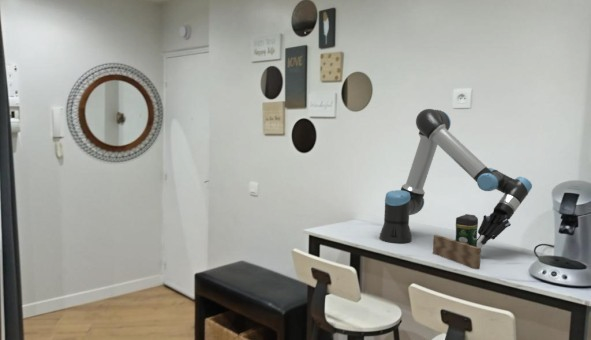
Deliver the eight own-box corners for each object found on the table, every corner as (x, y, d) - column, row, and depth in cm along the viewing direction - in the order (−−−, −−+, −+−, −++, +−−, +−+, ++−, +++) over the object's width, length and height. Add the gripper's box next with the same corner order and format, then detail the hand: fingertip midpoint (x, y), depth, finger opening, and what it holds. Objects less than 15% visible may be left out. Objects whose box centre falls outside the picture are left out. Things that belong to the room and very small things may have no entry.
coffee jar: (459, 254, 195) (462, 212, 194) (478, 258, 190) (481, 214, 189) (450, 259, 188) (453, 215, 186) (470, 263, 183) (472, 217, 181)
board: (432, 253, 197) (433, 235, 196) (436, 252, 198) (437, 234, 197) (475, 269, 175) (477, 248, 175) (479, 268, 176) (481, 248, 175)
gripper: (523, 215, 192) (492, 258, 186) (497, 210, 204) (468, 250, 198) (515, 203, 189) (483, 246, 183) (489, 199, 201) (459, 239, 195)
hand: (475, 248), depth 191 cm, fingers closed
